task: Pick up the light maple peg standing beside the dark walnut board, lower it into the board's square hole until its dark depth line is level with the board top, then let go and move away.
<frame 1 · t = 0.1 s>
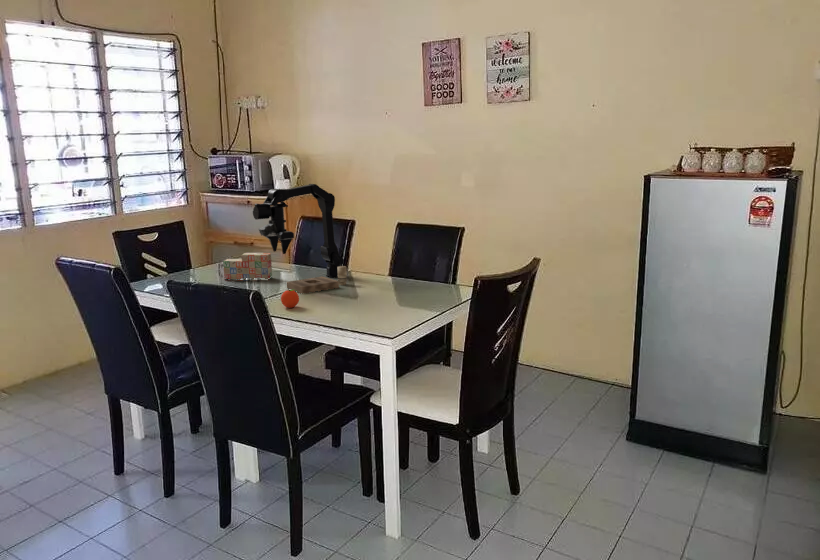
hand: (279, 252, 290), 15 cm above the table, tool pointing down, fingers open, 9 cm apart
board: (312, 288, 285), on the table
stack of blocks: (248, 279, 307), on the table
peg: (342, 284, 292), on the table
clementine: (291, 307, 253), on the table
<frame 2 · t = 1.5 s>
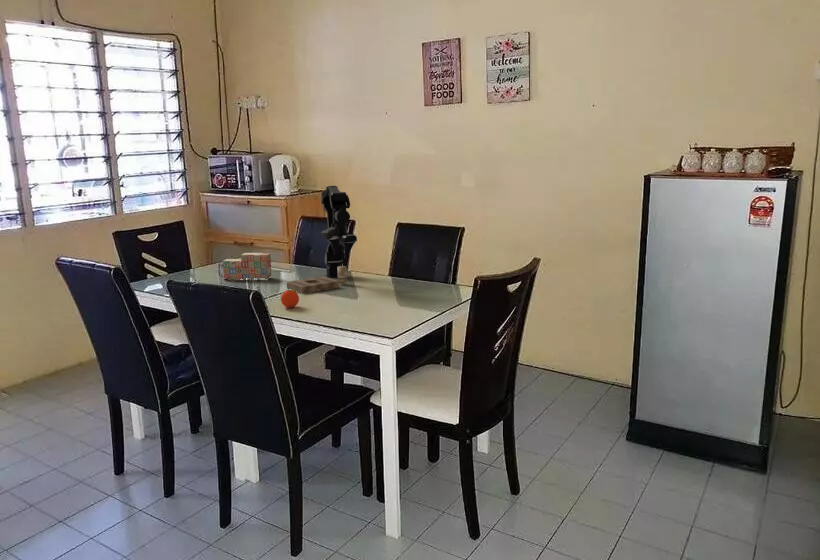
hand: (340, 256, 289), 13 cm above the table, tool pointing down, fingers open, 9 cm apart
nothing on the table moved.
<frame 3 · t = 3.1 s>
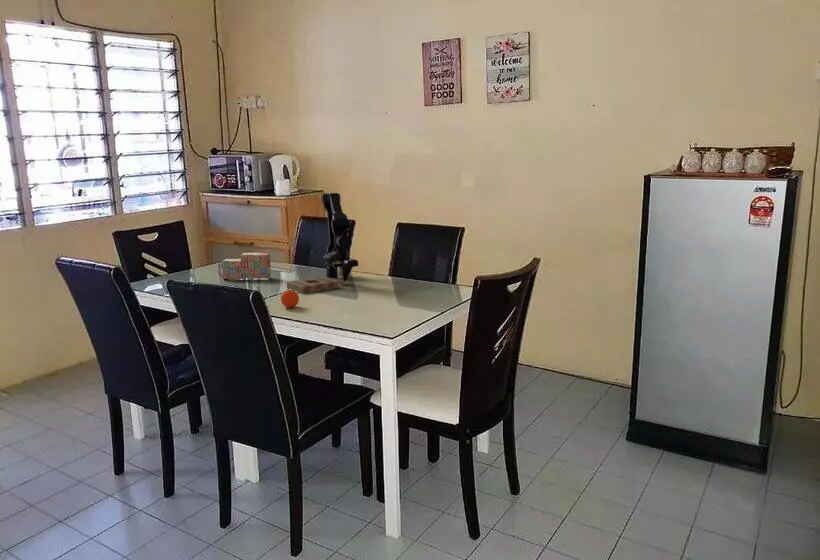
hand: (342, 280, 292), 2 cm above the table, tool pointing down, fingers closed on peg, 4 cm apart
peg: (342, 284, 292), on the table, touching gripper
everything else where it was.
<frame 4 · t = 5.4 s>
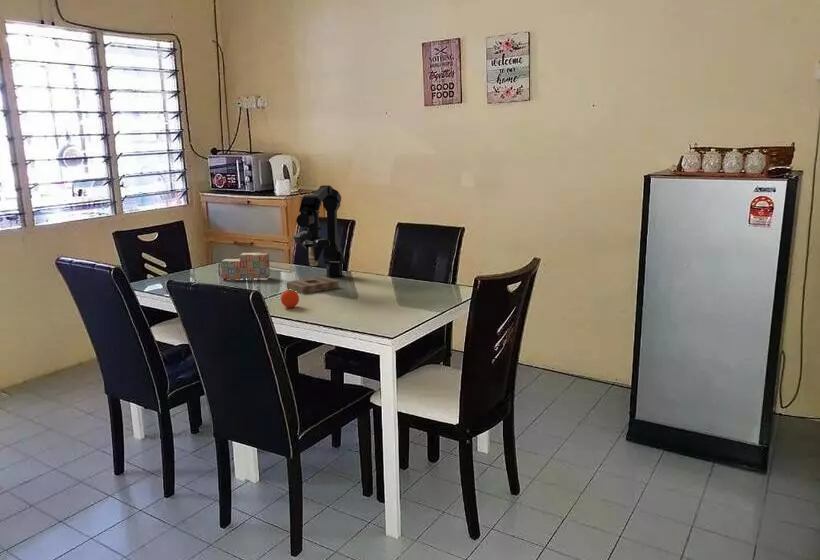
hand: (313, 260, 283), 12 cm above the table, tool pointing down, fingers closed on peg, 4 cm apart
peg: (313, 265, 283), point 10 cm above the table, touching gripper
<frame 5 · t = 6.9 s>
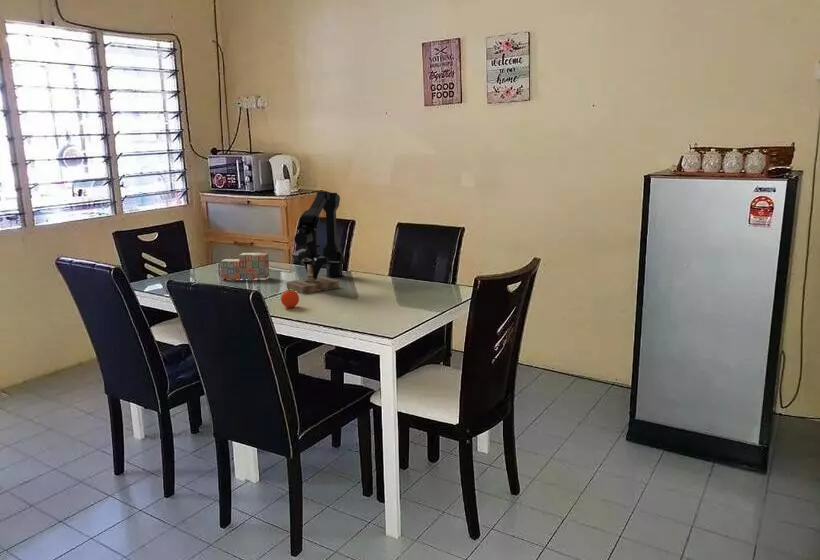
hand: (312, 277, 284), 5 cm above the table, tool pointing down, fingers closed on peg, 4 cm apart
peg: (312, 282, 285), point 3 cm above the table, touching gripper
when the fingers open (3 cm above the table, at t = 7.9 s): peg drops 1 cm, resting in board.
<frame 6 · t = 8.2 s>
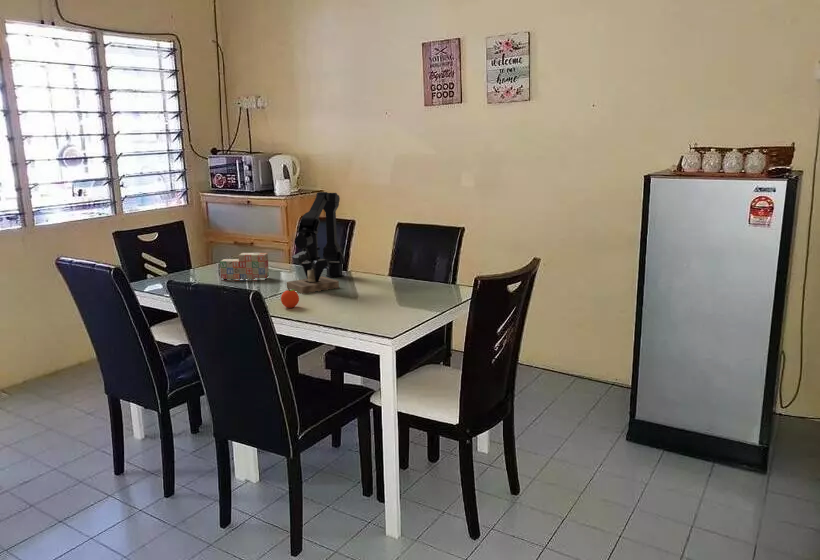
hand: (312, 280, 285), 3 cm above the table, tool pointing down, fingers open, 7 cm apart
peg: (312, 288, 285), resting in board
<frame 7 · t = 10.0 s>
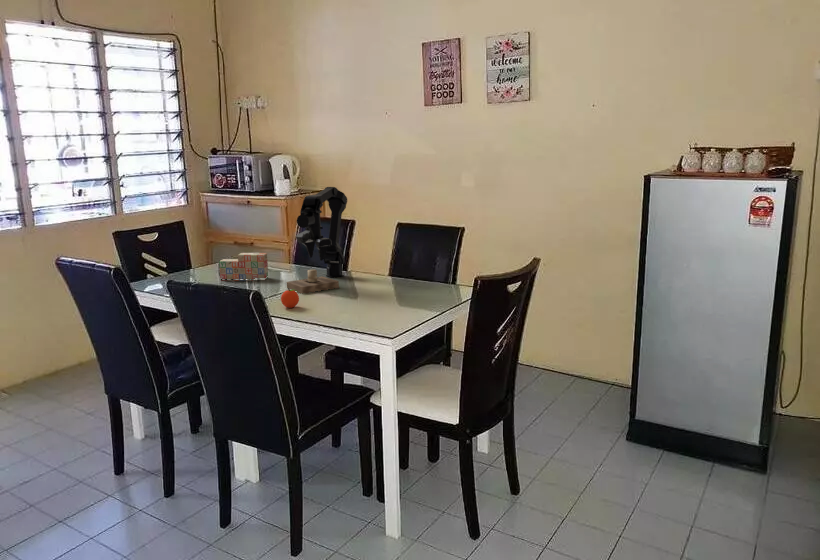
hand: (316, 259, 291), 11 cm above the table, tool pointing down, fingers open, 9 cm apart
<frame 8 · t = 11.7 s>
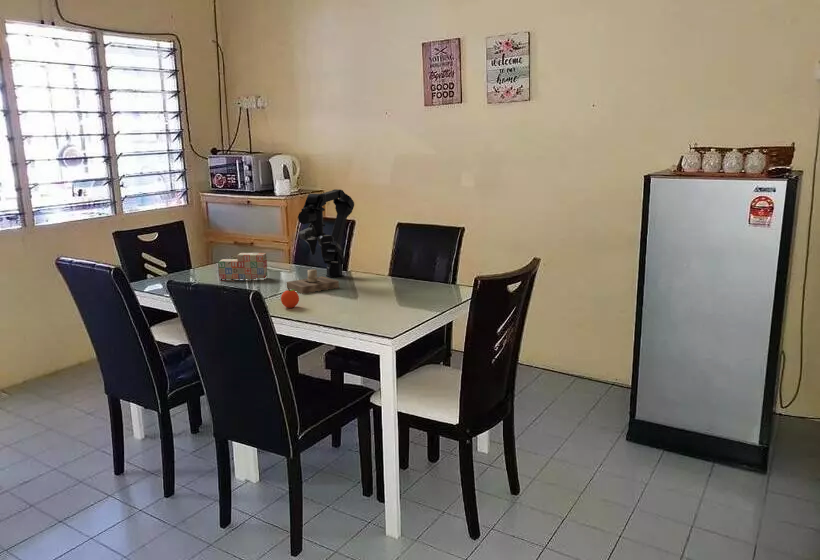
hand: (318, 256, 296), 12 cm above the table, tool pointing down, fingers open, 9 cm apart
at the end: peg 0.1 cm off-centre on the board, point 0.0 cm above the board's base; peg tilted 0°; the gripper is holding nothing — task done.
